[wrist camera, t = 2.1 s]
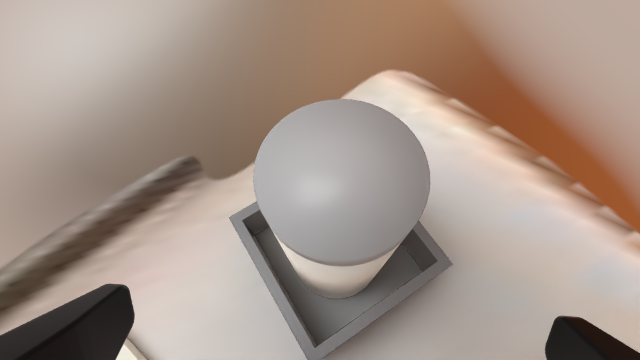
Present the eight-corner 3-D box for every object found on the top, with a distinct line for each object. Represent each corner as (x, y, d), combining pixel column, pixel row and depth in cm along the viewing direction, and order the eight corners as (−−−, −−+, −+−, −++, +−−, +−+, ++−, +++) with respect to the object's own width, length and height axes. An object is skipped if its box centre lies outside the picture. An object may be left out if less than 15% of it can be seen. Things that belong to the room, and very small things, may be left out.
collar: (435, 273, 19) (452, 264, 16) (314, 360, 18) (310, 366, 15) (353, 166, 22) (356, 142, 19) (242, 232, 20) (228, 217, 18)
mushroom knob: (396, 246, 20) (463, 157, 10) (344, 318, 18) (359, 301, 8) (328, 196, 21) (326, 73, 11) (274, 259, 20) (216, 184, 10)
